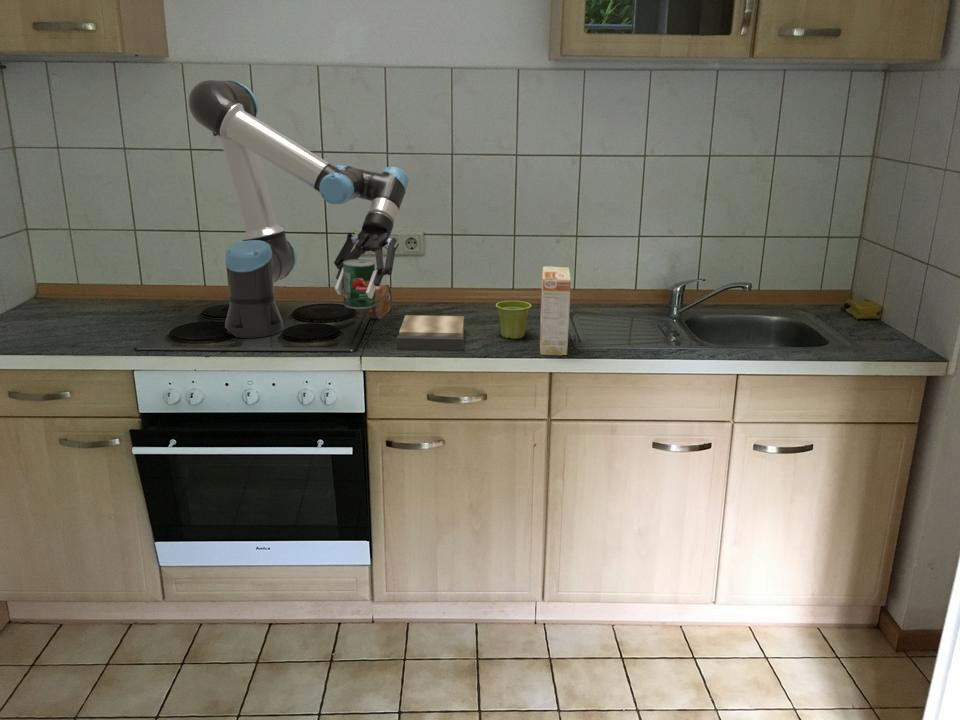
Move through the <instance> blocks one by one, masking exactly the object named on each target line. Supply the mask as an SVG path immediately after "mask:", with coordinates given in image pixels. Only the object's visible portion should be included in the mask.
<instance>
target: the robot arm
mask: <svg viewBox="0 0 960 720" xmlns="http://www.w3.org/2000/svg"><path fill="white" fill-rule="evenodd" d="M257 101H258V100H257V98H256V96H255V95H254V93H253V91H252V90H251V89H250V88H249V87H247V86H246V85H245V84H244V83H241V82H238V81H235V80H229V79H228V80H215V79H206V80H202V81H200V82H198V83H196V84H195V85H194V86H193V88H192V89H191V91H190V93H189V97H188V107H189V112H190V113H191V115H192V117H193V118H194V120H195V122H197V123H198V124H200V125H201V126H202V127H203V128H205V129H207V130H208V131H210V132H212V134H213V138H214V139H215V140H217V141H218V142H220V143H221V145H222V149H223V154H224V157H225V159H226V160H225V162H226V163H227V168H228V171H229V174H230V178H231V181H232V185H233V189H234V192H235V195H236V200H237V203H238V207H239V210H240V214H241V218H242V220H243V225H244V229H245V233H244V234H243V236H242V237H241V239H242V241H237V242H235V243H232V244H230V245H229V246H228V247H227V248H226V251H225V260H224V261H225V267H226V277H227V288H228V289H227V290H228V297H229V298H228V299H229V306H228V310H227V314H226V318H225V322H224V329H225V328H226V329H227V330H228V331H229V332H231V333H232V334H233V335H234V336H235V337H234V338H245V339H253V338H263V337H270V336H274V335H277V334H279V333H282V332H283V330H284V321H283V318H282V315H281V313H280V311H279V308H278V306H277V303H276V298H275V286H274V284H275V283H276V282H278V281H281V280H283V279H285V278H287V276H289V275H290V273H291V272H292V271H293V270H294V269H295V266H296V265H297V264H296V263H297V260H298V259H297V258H298V257H297V256H298V255H297V251H296V248H295V246H294V244H293V243H292V241H290V240H288V239H287V236H286V233H285V229H284V228H283V227H282V226H280V225H279V224H278V223H277V220H276V215H275V213H274V208H273V204H272V201H271V197H270V194H269V189H268V185H267V182H266V178H265V174H264V170H263V168H262V163H261V159H260V157H261V158H262V159H264V160H266V161H268V162H269V163H271V164H273V165H274V166H276V167H277V168H279V169H281V170H282V171H284V172H286V173H287V174H289V175H290V176H293V177H294V178H295V179H297V180H299V181H300V182H302V183H303V184H305V185H307V186H309V187H310V188H312V189H313V190H315V191H317V192H318V193H319V194H320V196H321V198H322V199H323V200H324V201H325V202H327V203H328V204H331V205H343V204H345V203H347V202H350V201H351V200H354V199H357V198H358V199H361V200H367V201H370V203H369V207H368V210H367V212H366V215H365V218H364V221H363V223H362V226H361V231H359V233H358V234H353V233H351V232H350V233H348V234H347V236H346V240H345V243H344V244H343V246H342V248H341V249H340V251H339V253H338V255H337V256H336V257H335V260H334V262H333V265H334V266H335V267H336V269H337V270H338V271H337V274H336V277H335V279H336V280H337V282H336V284H335V287H334V290H335V291H336V294H337V295H338V296H339V295H340V296H341V295H342V293H343V292H344V277H343V275H344V274H343V262H344V261H346V260H351V259H360V257H361V256H362V255H364V254H365V253H366V252H373V253H375V265H376V269H375V271H373V274H372V277H371V279H370V282H369V285H368V288H367V291H366V294H367V296H368V297H369V298H370V299H372V297H373V294H374V292H375V289H376V287H377V286H379V285H382V284H381V283H382V281H383V278H384V276H387V275H388V276H391V275H392V273H393V268H394V262H395V255H396V251H397V249H398V247H399V245H400V243H399V242H398V240H397V238H396V237H392V238H391V235H392V231H393V228H394V225H395V223H396V220H397V217H398V215H399V211H400V207H401V205H402V203H403V201H404V198H405V195H406V194H407V188H408V184H409V182H410V181H409V177H408V174H407V173H406V172H405V171H404V170H403V169H402V168H399V167H397V166H387V167H384V169H383V170H382V171H381V173H380V172H375V171H374V172H372V171H369V170H366V169H362V168H357V167H353V166H351V165H342V164H337V165H336V166H335V165H332V164H331V163H330V162H328V161H326V160H324V159H323V158H321V156H319V155H317V154H315V153H314V152H312V151H310V150H308V149H307V148H305V147H304V146H302V145H301V144H299V143H298V142H295V141H294V140H293V139H291V138H289V137H288V136H286V135H284V134H282V133H281V132H279V131H278V130H276V129H275V128H273V127H272V126H270V125H268V124H267V123H265V122H263V121H262V120H260V119H258V118H257V116H258V112H259V111H258V110H259V105H258V102H257ZM357 241H358V242H357ZM386 245H388V246H387V250H386V251H387V252H386V255H385V257H386V258H385V264H384V258H383V257H384V256H383V255H384V253H383V248H384V247H385V246H386ZM354 246H355V247H354Z"/></svg>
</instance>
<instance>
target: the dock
mask: <svg viewBox="0 0 960 720" xmlns="http://www.w3.org/2000/svg"><path fill="white" fill-rule="evenodd" d="M464 331H465V316H463V315H462V316H461V315H460V316H459V315H416V314H415V315H411V314H410V315H409V314H405V315H404V318H403V322H402V323H401V326H400V328H399V332H398V335H397V337H396V349H397V350H409V351H410V350H412V351H425V350H426V351H457V350H460V351H464Z"/></svg>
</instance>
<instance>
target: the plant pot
mask: <svg viewBox="0 0 960 720" xmlns="http://www.w3.org/2000/svg"><path fill="white" fill-rule="evenodd" d="M495 307H496V308H497V312H498V317H499V326H500V335H501V336H502V338H504V337H505V338H504V339H508V338H510V339H512V340H515V339H517V340H518V339H522V338H523V337H525V334H526V327H527V326H526V325H527V320H528V315H529V312H530V309H531V308H532V304H531V303H529V302H527V301H521V300H504V301H503V300H502V301H499V302H497V303H496V304H495Z"/></svg>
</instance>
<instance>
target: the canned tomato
mask: <svg viewBox="0 0 960 720" xmlns="http://www.w3.org/2000/svg"><path fill="white" fill-rule="evenodd" d="M375 267H376V261H374V260H371V259H366V258H358V259H351V260H346V261H344V262H343V274H344V275H343V277H344V288H343V306H344V307H345V308H347V309H354V310H362V309H363V310H364V309H365V310H366V309H368V308H371V307H373V306H375V292H374V294H373V297H372V299H370V298H369V297H368V296H367V294H366V291H367V288H368V285H369V282H370V279H371V277H372V274H373V271H376V269H375Z"/></svg>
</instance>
